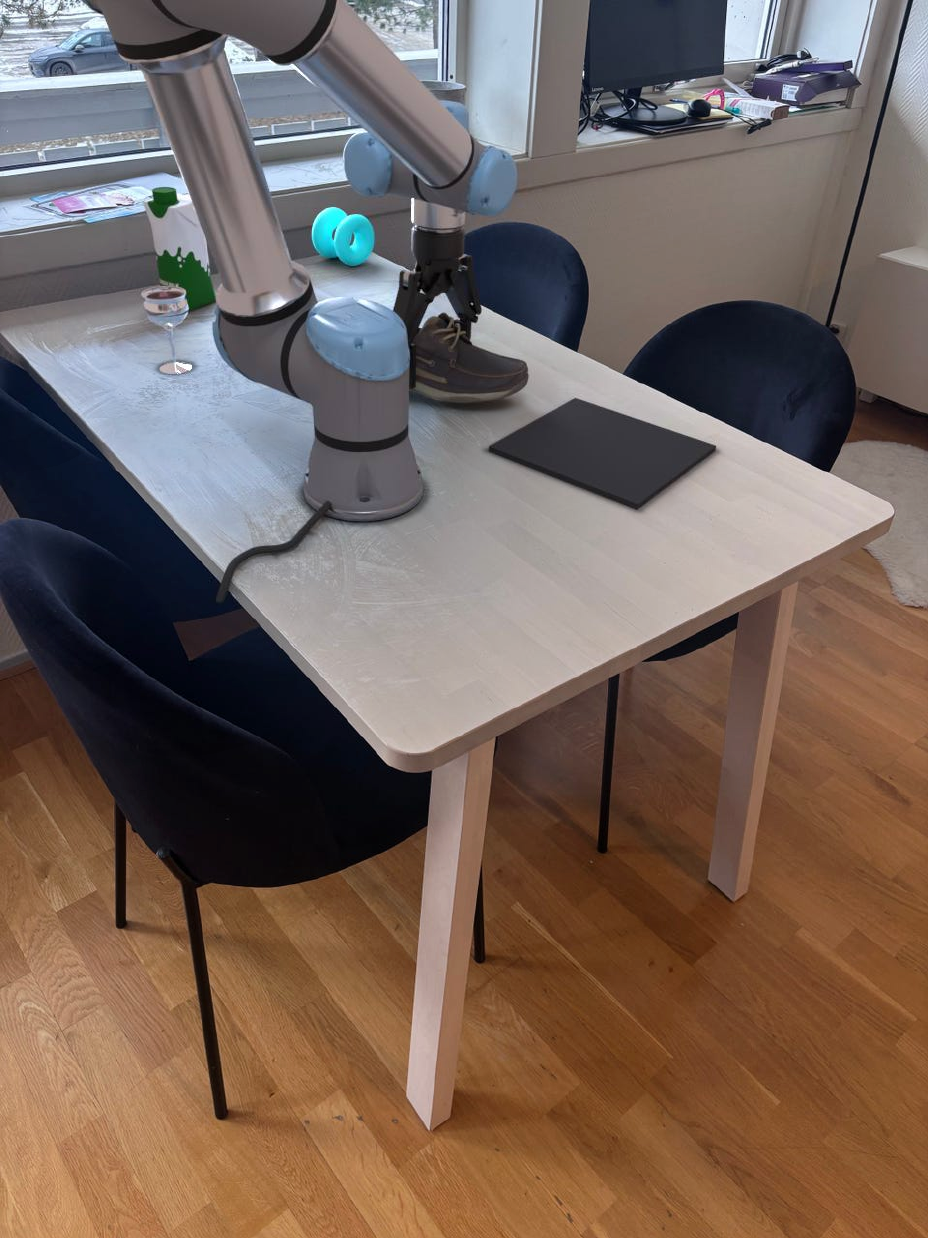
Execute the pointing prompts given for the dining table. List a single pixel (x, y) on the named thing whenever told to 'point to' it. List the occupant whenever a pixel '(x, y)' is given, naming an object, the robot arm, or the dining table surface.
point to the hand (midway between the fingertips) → (434, 373)
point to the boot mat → (604, 451)
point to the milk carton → (180, 245)
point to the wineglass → (167, 317)
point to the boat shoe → (462, 366)
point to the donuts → (343, 236)
